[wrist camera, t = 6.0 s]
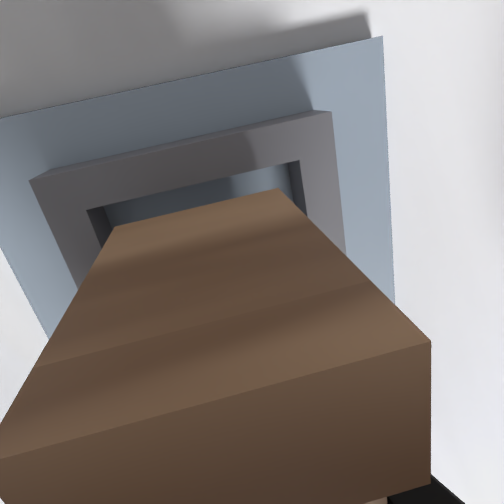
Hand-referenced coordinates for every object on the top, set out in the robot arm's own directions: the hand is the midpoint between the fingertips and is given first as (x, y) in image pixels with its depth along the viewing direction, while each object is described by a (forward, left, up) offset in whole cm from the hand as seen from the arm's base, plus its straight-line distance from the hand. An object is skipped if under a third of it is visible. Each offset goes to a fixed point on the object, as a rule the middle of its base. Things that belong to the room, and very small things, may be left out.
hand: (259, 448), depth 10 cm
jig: (0, 0, -5) cm, 5 cm away
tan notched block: (0, 0, -2) cm, 2 cm away
